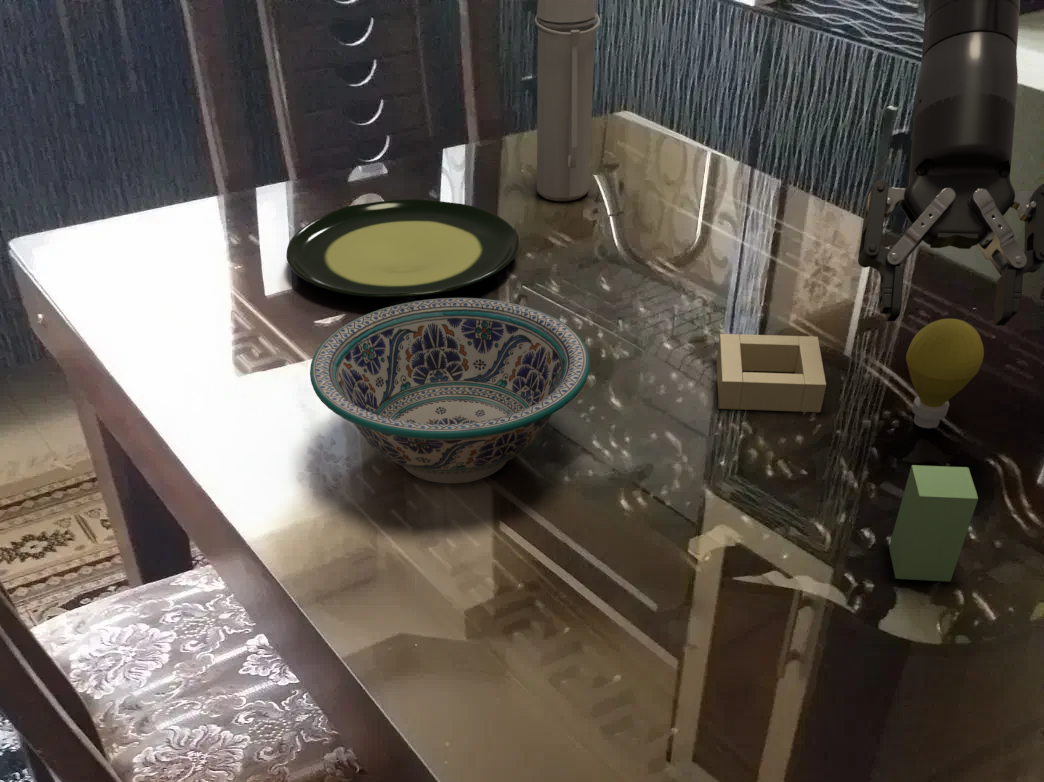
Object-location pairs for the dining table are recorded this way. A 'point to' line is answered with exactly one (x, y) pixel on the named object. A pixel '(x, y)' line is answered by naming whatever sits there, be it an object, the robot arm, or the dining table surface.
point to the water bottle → (565, 96)
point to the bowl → (450, 382)
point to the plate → (402, 248)
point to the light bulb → (942, 366)
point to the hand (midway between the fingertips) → (947, 320)
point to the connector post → (932, 522)
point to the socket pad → (770, 388)
